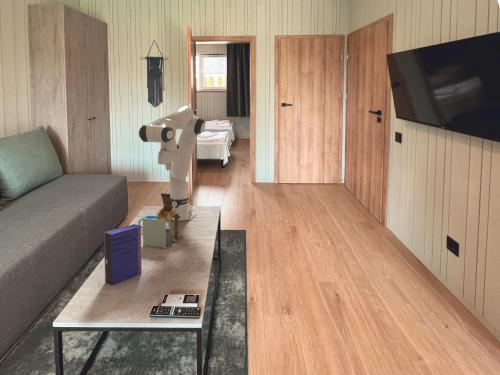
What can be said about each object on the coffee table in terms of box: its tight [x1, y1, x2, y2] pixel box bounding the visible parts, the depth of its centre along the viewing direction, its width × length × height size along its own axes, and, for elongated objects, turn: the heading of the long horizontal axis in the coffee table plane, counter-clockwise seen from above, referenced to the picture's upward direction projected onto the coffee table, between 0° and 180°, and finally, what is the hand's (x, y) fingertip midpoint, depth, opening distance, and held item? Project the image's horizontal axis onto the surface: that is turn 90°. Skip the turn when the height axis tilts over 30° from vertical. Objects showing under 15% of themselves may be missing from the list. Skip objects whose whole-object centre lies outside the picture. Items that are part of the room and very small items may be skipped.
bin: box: [142, 217, 174, 250], centre depth 277 cm, size 11×14×16 cm
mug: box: [137, 215, 157, 230], centre depth 305 cm, size 12×8×8 cm
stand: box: [156, 212, 184, 244], centre depth 288 cm, size 10×14×16 cm
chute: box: [155, 193, 176, 224], centre depth 281 cm, size 10×9×15 cm
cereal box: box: [103, 223, 143, 286], centre depth 227 cm, size 17×5×24 cm, turn 144°
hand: (168, 170), depth 292 cm, fingers closed
